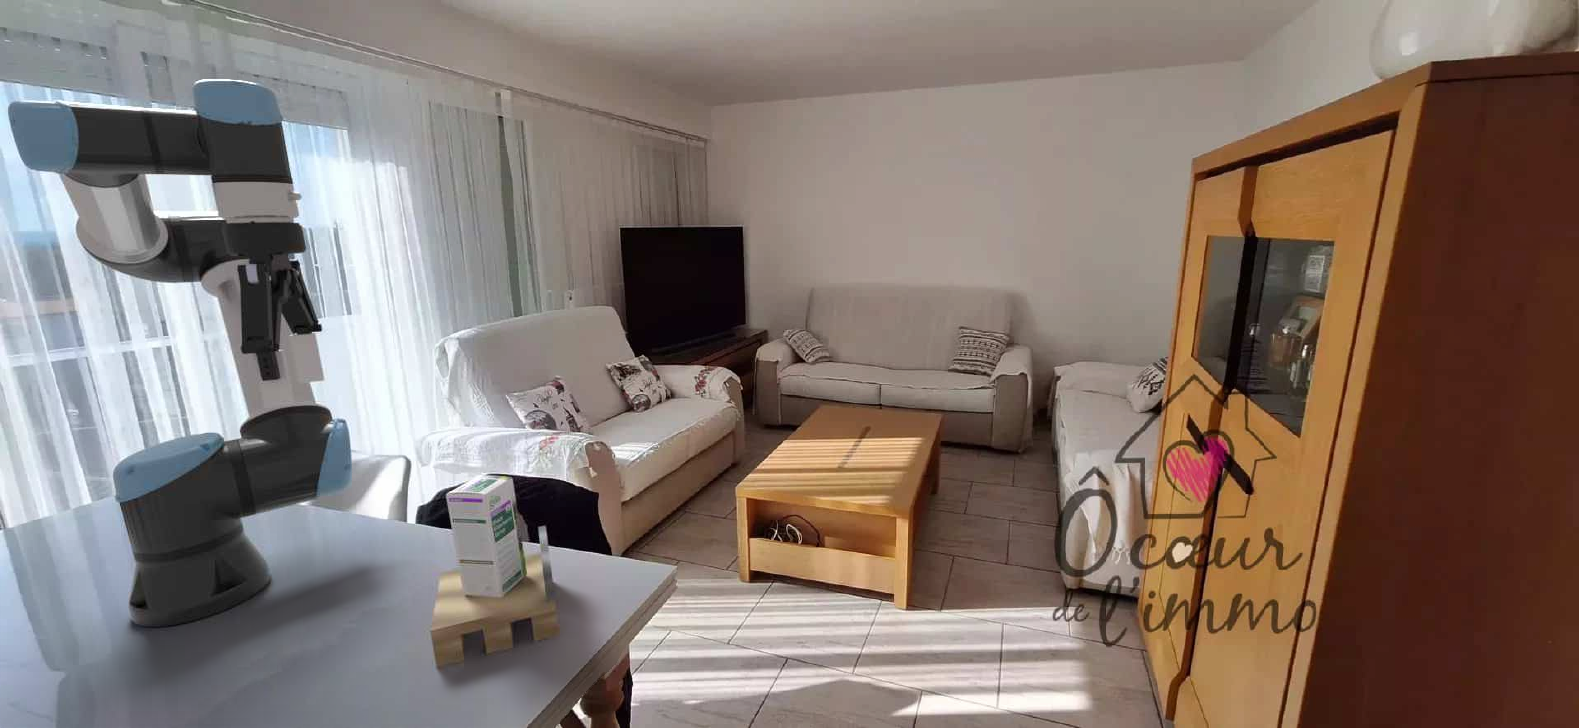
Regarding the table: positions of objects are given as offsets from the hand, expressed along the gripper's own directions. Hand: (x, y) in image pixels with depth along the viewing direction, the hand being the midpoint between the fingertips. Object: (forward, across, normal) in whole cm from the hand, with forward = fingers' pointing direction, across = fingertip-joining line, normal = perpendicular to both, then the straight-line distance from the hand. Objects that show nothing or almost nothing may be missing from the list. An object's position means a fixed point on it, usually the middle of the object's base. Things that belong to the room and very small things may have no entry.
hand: (297, 393), depth 81 cm
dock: (+32, -11, -20) cm, 39 cm away
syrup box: (+27, -11, -20) cm, 35 cm away
